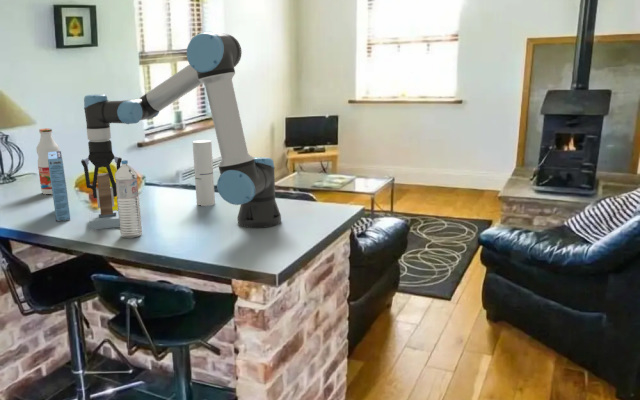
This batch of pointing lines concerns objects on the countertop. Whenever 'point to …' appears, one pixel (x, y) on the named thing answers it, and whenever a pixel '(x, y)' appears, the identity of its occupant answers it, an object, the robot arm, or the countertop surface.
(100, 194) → the peg
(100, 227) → the socket block
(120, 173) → the water bottle
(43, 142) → the fruit juice
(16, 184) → the countertop surface
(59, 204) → the blue cardboard box
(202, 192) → the cylindrical container
